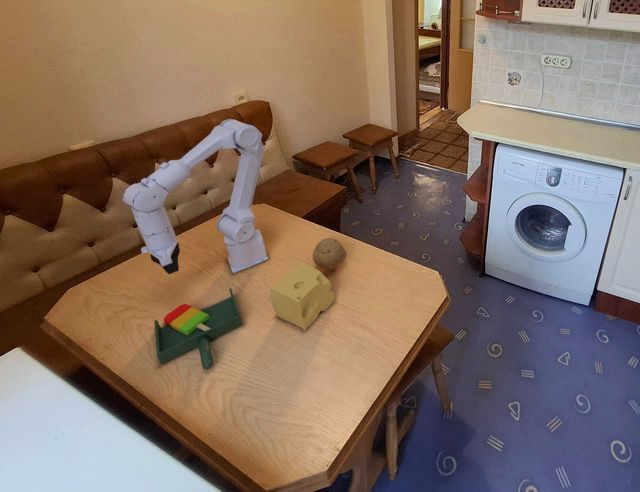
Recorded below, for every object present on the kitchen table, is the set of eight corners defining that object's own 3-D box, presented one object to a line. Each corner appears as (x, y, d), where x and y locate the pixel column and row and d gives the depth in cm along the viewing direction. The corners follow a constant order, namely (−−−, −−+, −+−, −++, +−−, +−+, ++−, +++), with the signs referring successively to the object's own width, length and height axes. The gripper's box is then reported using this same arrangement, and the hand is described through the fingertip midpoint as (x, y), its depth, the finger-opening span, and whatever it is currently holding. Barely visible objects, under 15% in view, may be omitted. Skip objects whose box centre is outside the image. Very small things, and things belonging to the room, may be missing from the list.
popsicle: (186, 306, 93) (183, 301, 92) (226, 326, 88) (224, 321, 87) (162, 323, 88) (160, 318, 87) (204, 345, 83) (201, 340, 83)
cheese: (335, 301, 96) (331, 273, 92) (303, 333, 87) (297, 303, 83) (307, 288, 100) (301, 260, 96) (274, 317, 91) (266, 288, 87)
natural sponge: (309, 267, 107) (303, 240, 103) (335, 252, 114) (331, 226, 110) (324, 282, 102) (319, 255, 98) (351, 266, 108) (348, 239, 104)
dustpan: (158, 330, 87) (154, 320, 86) (233, 296, 97) (231, 287, 95) (164, 398, 73) (159, 388, 72) (251, 351, 83) (248, 341, 81)
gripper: (133, 221, 89) (151, 262, 95) (135, 251, 79) (155, 296, 85) (169, 210, 94) (184, 251, 99) (175, 238, 84) (191, 281, 89)
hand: (173, 271), depth 92 cm, fingers closed
